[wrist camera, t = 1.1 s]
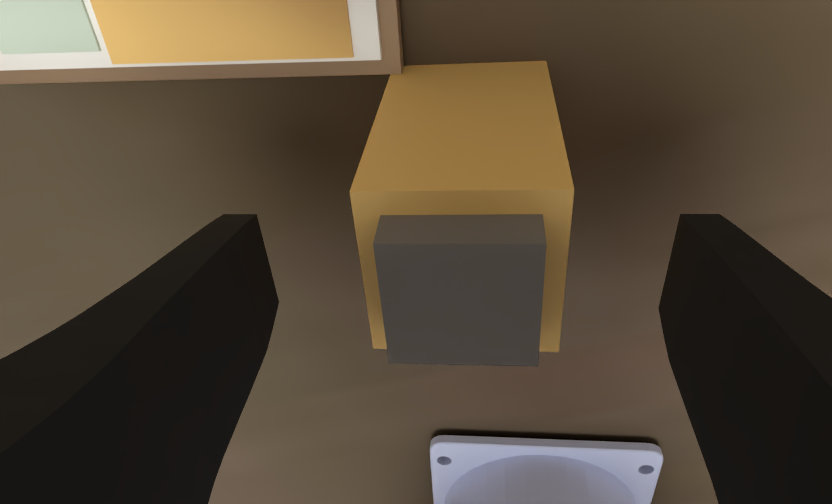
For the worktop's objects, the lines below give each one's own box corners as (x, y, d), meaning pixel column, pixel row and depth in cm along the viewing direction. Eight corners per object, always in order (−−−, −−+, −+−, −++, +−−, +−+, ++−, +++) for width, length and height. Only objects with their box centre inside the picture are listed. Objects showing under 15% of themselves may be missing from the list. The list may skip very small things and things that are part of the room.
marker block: (538, 193, 16) (562, 384, 11) (405, 194, 16) (367, 380, 11) (546, 60, 14) (580, 217, 9) (393, 65, 14) (340, 219, 9)
